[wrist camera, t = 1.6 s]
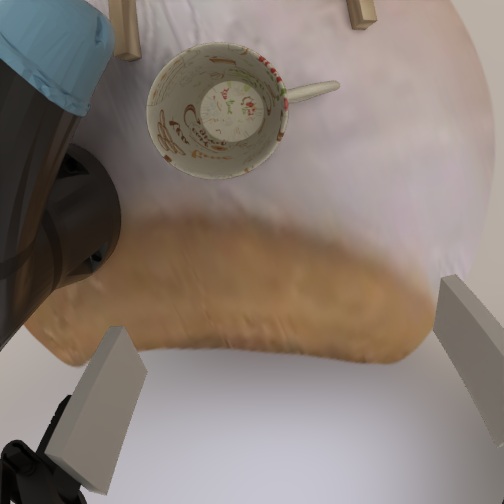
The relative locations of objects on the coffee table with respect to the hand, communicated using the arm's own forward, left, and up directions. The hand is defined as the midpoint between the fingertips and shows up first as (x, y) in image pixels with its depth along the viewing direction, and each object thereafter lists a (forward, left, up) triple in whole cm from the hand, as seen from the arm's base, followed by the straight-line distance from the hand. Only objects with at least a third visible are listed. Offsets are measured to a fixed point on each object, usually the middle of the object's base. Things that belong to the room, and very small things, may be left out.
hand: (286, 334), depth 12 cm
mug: (-1, +9, -19) cm, 21 cm away
